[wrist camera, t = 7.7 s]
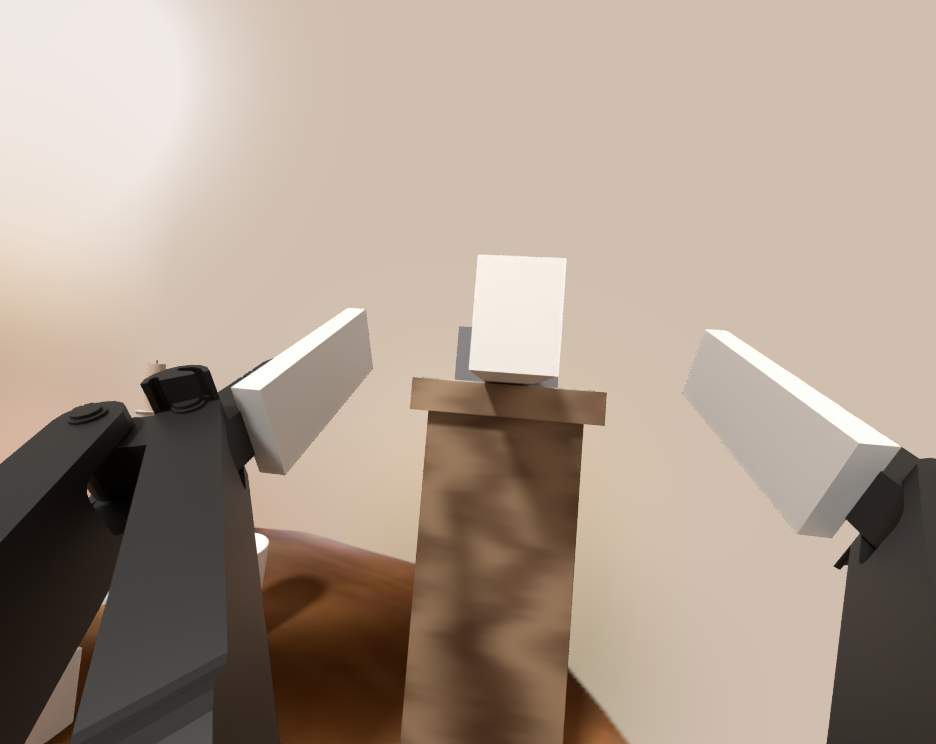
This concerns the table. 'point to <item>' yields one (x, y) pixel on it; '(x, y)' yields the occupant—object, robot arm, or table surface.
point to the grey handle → (514, 322)
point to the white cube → (58, 705)
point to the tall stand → (494, 561)
